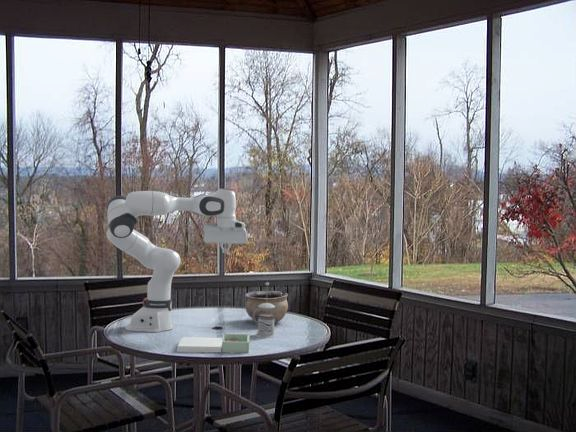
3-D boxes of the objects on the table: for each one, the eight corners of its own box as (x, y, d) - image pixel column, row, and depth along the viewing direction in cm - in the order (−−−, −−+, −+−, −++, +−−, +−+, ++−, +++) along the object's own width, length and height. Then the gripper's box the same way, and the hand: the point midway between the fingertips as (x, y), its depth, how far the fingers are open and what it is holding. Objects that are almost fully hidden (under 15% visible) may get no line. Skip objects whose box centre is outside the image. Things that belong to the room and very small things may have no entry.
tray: (222, 352, 269) (222, 341, 269) (224, 343, 284) (224, 333, 284) (248, 352, 269) (248, 342, 269) (249, 344, 284) (249, 334, 284)
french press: (271, 338, 295) (273, 284, 294) (248, 336, 299) (249, 282, 298) (279, 334, 305) (280, 281, 304) (256, 331, 309) (258, 280, 308)
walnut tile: (226, 346, 278) (226, 341, 277) (227, 343, 283) (227, 338, 282) (238, 346, 278) (238, 341, 278) (238, 343, 283) (238, 339, 283)
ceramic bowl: (294, 326, 324) (294, 296, 323) (252, 328, 316) (253, 298, 315) (278, 317, 344) (279, 289, 344) (239, 319, 336) (240, 290, 336)
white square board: (177, 352, 268) (177, 346, 268) (182, 342, 284) (182, 337, 284) (220, 352, 268) (220, 346, 268) (223, 343, 284) (223, 337, 284)
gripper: (203, 223, 297) (202, 253, 298) (247, 224, 297) (246, 254, 298) (204, 222, 303) (203, 251, 304) (248, 223, 304) (247, 252, 304)
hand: (225, 252), depth 301 cm, fingers closed
